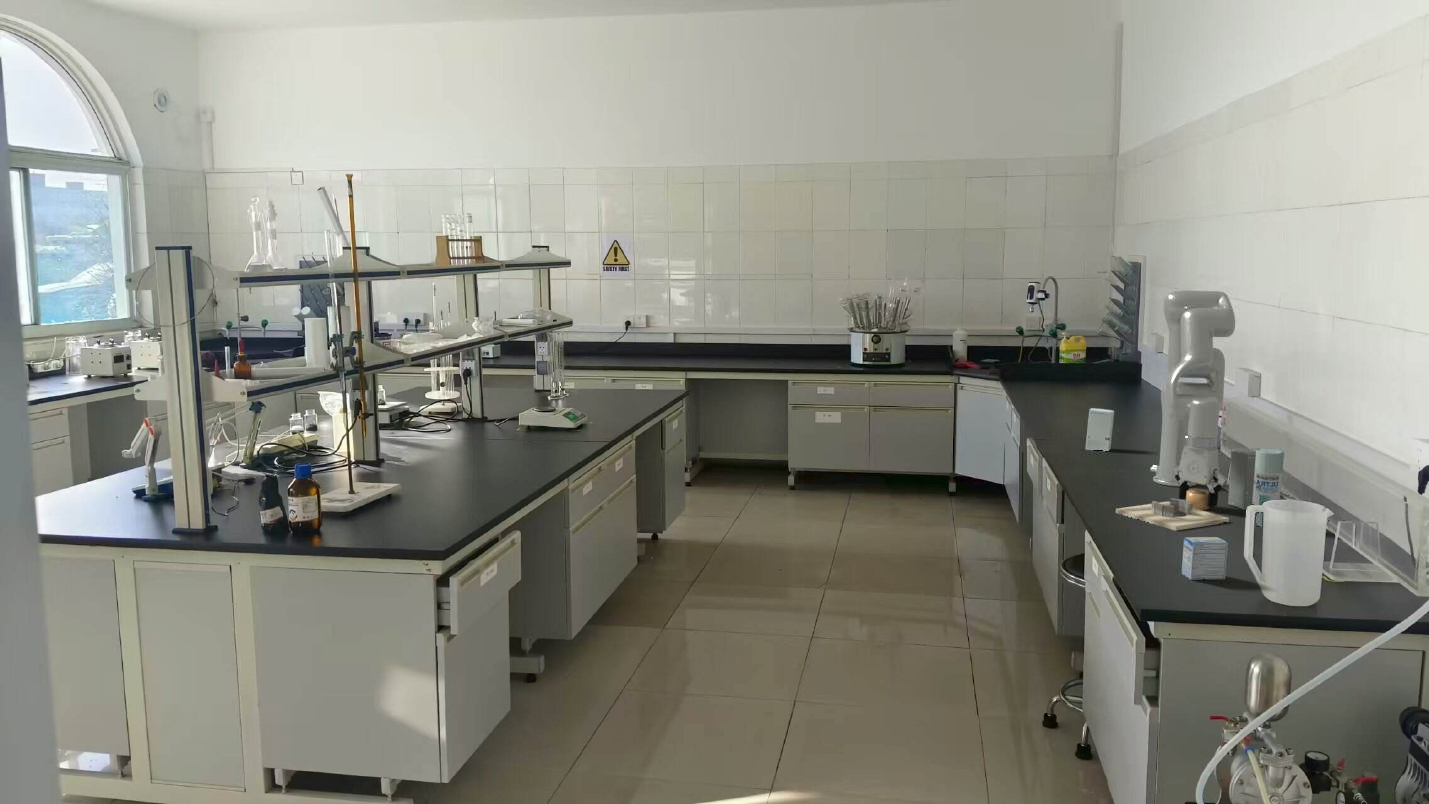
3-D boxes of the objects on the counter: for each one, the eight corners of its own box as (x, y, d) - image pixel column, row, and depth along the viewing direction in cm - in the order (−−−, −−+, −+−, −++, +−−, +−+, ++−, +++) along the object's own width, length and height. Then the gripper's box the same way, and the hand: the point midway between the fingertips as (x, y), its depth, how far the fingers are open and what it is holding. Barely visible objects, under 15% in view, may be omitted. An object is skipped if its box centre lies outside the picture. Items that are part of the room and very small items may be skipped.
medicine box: (1215, 573, 234) (1218, 536, 233) (1225, 580, 230) (1228, 542, 229) (1180, 574, 234) (1183, 536, 233) (1190, 580, 230) (1193, 542, 228)
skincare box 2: (1243, 510, 291) (1248, 454, 289) (1225, 504, 298) (1229, 450, 296) (1268, 508, 293) (1273, 453, 291) (1249, 502, 300) (1253, 448, 298)
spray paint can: (1278, 524, 277) (1284, 450, 274) (1277, 529, 271) (1283, 454, 268) (1251, 520, 280) (1257, 447, 277) (1249, 526, 274) (1255, 451, 271)
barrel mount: (1115, 513, 288) (1116, 498, 287) (1167, 505, 296) (1168, 491, 296) (1175, 530, 270) (1176, 514, 269) (1228, 522, 278) (1229, 506, 278)
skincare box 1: (1085, 450, 377) (1087, 409, 375) (1087, 447, 382) (1090, 407, 380) (1109, 452, 373) (1112, 411, 371) (1111, 449, 379) (1114, 409, 376)
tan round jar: (1180, 506, 296) (1182, 489, 295) (1195, 504, 298) (1196, 487, 297) (1198, 511, 290) (1199, 493, 290) (1213, 508, 293) (1215, 491, 292)
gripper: (1167, 438, 298) (1163, 497, 300) (1219, 448, 282) (1214, 510, 285) (1185, 436, 301) (1181, 494, 303) (1238, 446, 285) (1233, 507, 288)
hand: (1197, 502), depth 294 cm, fingers open, 9 cm apart
